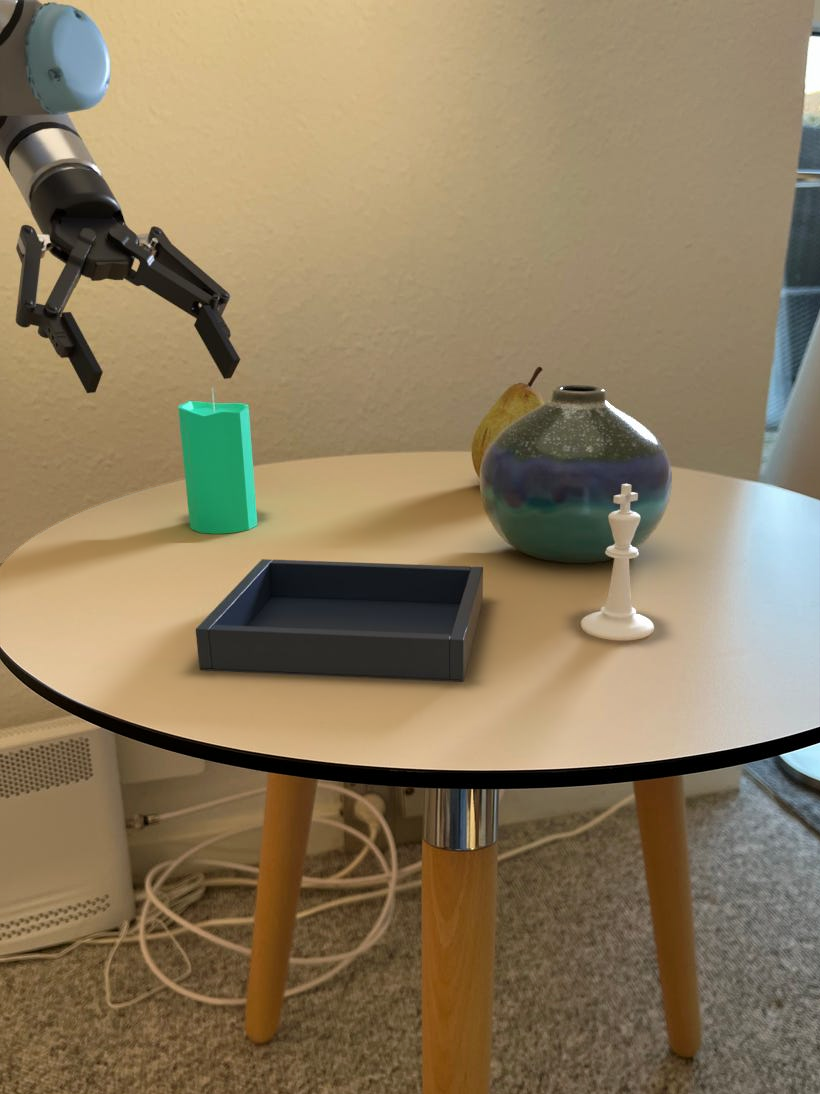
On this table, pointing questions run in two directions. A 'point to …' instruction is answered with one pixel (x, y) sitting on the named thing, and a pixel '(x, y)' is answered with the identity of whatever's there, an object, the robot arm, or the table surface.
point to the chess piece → (620, 580)
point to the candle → (218, 466)
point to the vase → (572, 477)
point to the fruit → (504, 416)
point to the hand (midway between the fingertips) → (167, 376)
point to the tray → (346, 621)
